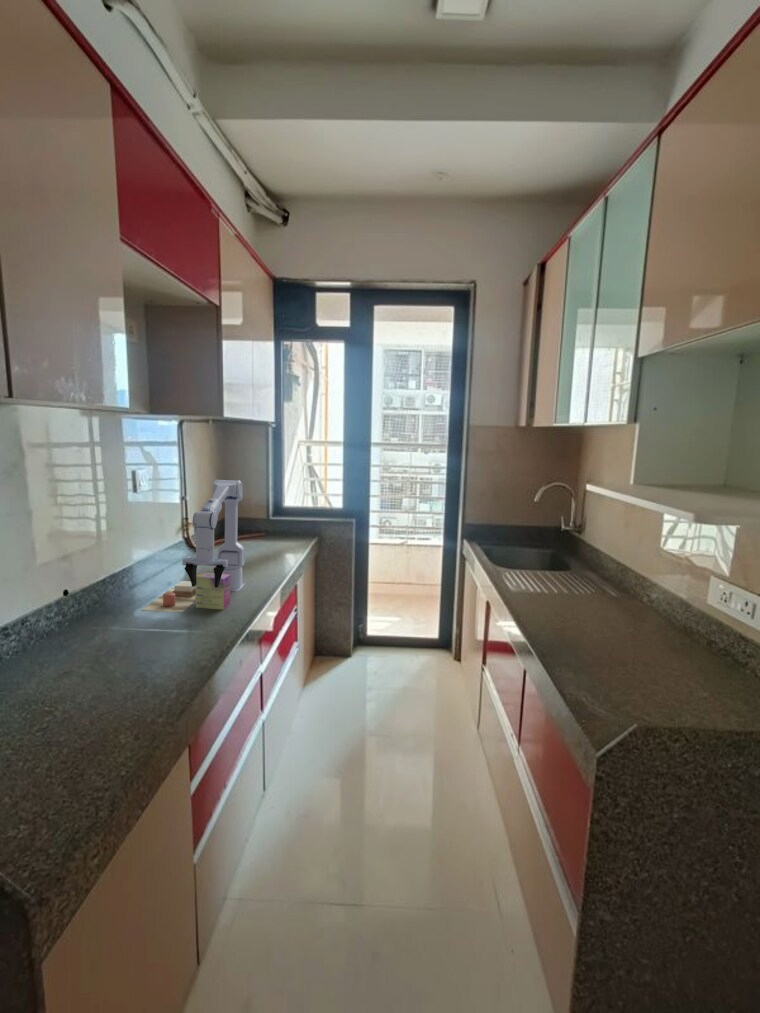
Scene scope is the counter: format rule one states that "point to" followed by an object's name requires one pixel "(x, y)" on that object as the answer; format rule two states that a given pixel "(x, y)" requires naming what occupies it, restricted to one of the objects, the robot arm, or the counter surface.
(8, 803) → the counter surface
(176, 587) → the top block
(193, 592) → the bottom block
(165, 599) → the cylinder
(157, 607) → the board
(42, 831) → the counter surface
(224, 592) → the box
